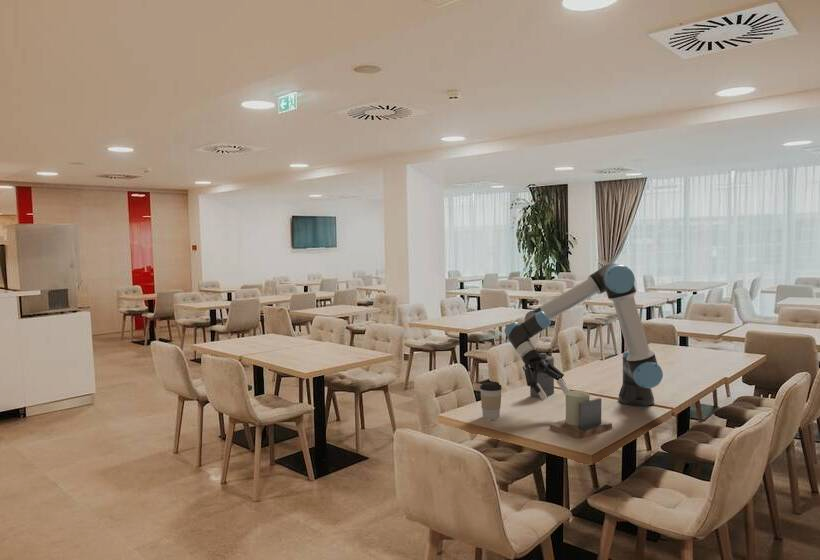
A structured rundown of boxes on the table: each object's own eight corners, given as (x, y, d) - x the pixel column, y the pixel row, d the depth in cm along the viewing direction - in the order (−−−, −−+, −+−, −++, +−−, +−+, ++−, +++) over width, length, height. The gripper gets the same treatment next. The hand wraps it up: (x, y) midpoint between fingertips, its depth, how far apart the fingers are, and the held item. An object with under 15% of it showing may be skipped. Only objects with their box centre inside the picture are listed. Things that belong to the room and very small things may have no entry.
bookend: (599, 423, 226) (599, 398, 225) (605, 425, 224) (605, 399, 223) (578, 429, 219) (578, 403, 219) (585, 431, 217) (585, 405, 216)
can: (583, 427, 221) (583, 396, 220) (561, 423, 227) (561, 392, 226) (593, 421, 228) (593, 391, 227) (571, 417, 234) (571, 388, 233)
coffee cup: (505, 419, 240) (505, 383, 239) (485, 421, 237) (485, 385, 236) (496, 413, 248) (496, 378, 247) (476, 415, 246) (476, 380, 245)
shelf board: (583, 419, 237) (583, 414, 237) (612, 428, 226) (612, 423, 226) (549, 428, 226) (549, 423, 226) (578, 438, 215) (578, 433, 215)
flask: (538, 398, 270) (537, 356, 269) (528, 396, 274) (527, 354, 273) (557, 393, 280) (557, 352, 278) (547, 390, 284) (547, 350, 283)
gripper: (544, 355, 258) (571, 395, 246) (503, 363, 243) (530, 406, 232) (553, 345, 253) (581, 385, 241) (512, 352, 239) (540, 395, 227)
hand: (556, 395), depth 237 cm, fingers open, 13 cm apart
